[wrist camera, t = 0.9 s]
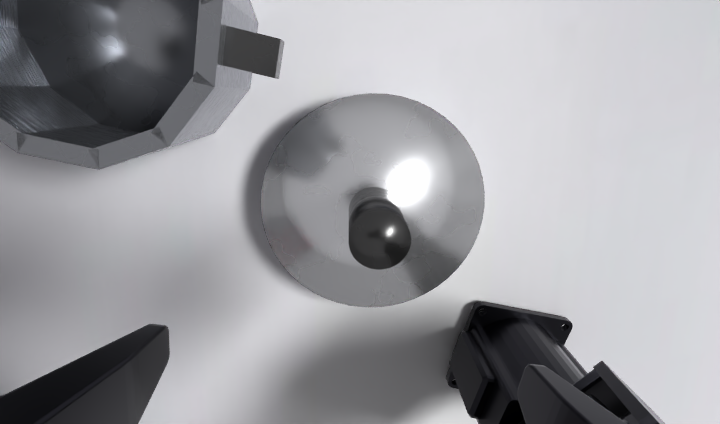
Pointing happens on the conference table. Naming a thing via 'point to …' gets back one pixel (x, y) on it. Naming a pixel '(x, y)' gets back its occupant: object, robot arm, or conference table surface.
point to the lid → (372, 200)
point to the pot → (124, 74)
